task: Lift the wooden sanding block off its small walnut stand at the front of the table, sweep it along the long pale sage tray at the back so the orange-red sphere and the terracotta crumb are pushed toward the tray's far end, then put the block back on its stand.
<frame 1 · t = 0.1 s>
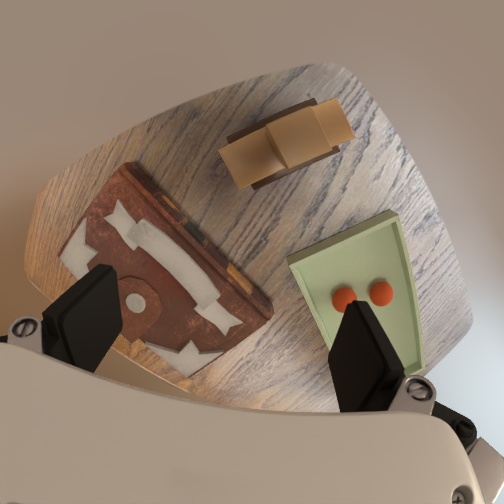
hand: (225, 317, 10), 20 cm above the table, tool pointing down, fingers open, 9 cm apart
tray: (370, 320, 33), on the table
stand: (280, 144, 26), on the table
crumb b: (381, 294, 29), point 2 cm above the table, touching tray
orange-red sphere: (344, 300, 30), point 2 cm above the table, touching tray
wooden sanding block: (284, 142, 21), point 6 cm above the table, touching stand
book: (162, 273, 32), on the table
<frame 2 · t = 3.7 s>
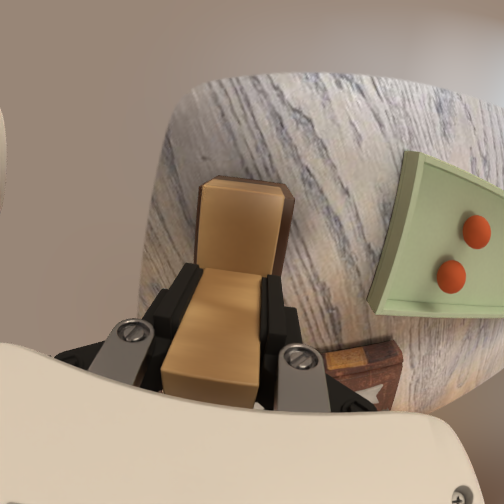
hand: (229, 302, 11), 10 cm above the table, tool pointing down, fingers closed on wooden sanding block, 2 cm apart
tray: (486, 252, 20), on the table
stand: (244, 231, 21), on the table
crumb b: (476, 232, 17), point 2 cm above the table, touching tray
orange-red sphere: (451, 277, 19), point 2 cm above the table, touching tray
wooden sanding block: (237, 263, 15), point 6 cm above the table, touching gripper, stand
book: (286, 398, 28), on the table
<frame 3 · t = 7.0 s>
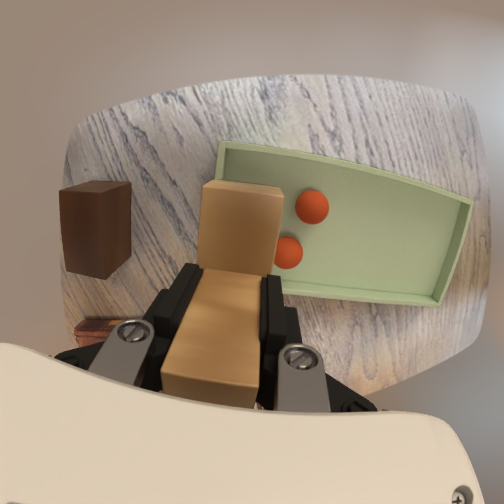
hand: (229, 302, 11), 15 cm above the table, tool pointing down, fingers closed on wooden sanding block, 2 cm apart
tray: (352, 230, 26), on the table
stand: (111, 218, 26), on the table
crumb b: (312, 207, 23), point 2 cm above the table, touching tray
orange-red sphere: (286, 252, 25), point 2 cm above the table, touching tray
wooden sanding block: (237, 263, 15), point 11 cm above the table, touching gripper
book: (173, 361, 33), on the table
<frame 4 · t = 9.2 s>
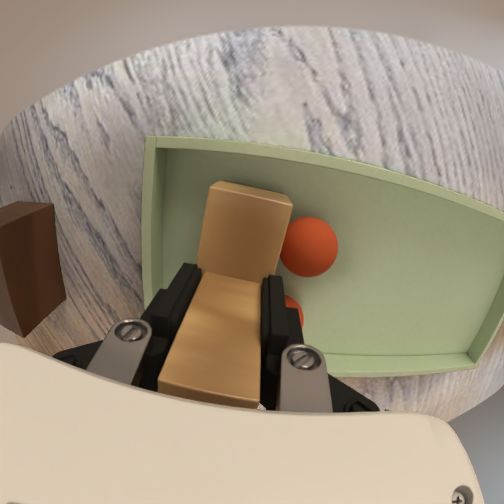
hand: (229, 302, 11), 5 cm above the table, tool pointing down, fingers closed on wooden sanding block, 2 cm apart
tray: (372, 276, 16), on the table
stand: (39, 250, 17), on the table
crumb b: (308, 247, 13), point 2 cm above the table, touching tray
orange-red sphere: (277, 320, 15), point 2 cm above the table, tilted 19°, touching wooden sanding block, tray
wooden sanding block: (235, 268, 15), point 1 cm above the table, touching orange-red sphere, gripper
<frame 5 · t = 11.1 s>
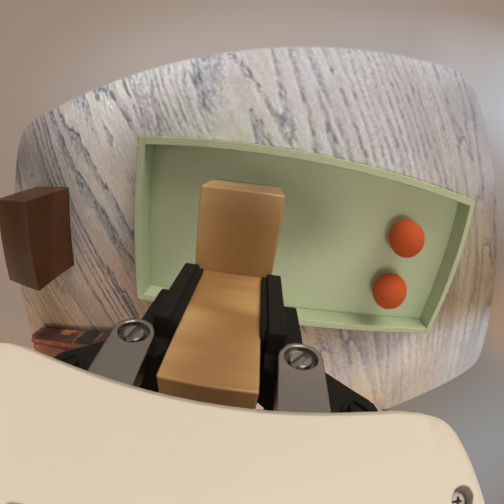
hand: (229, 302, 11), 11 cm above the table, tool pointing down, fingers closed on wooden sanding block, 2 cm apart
tray: (311, 239, 21), on the table
stand: (54, 225, 22), on the table
crumb b: (406, 238, 19), point 2 cm above the table, tilted 107°, touching tray
orange-red sphere: (389, 291, 20), point 2 cm above the table, tilted 128°, touching tray
wooden sanding block: (237, 265, 15), point 7 cm above the table, touching gripper
book: (127, 375, 29), on the table
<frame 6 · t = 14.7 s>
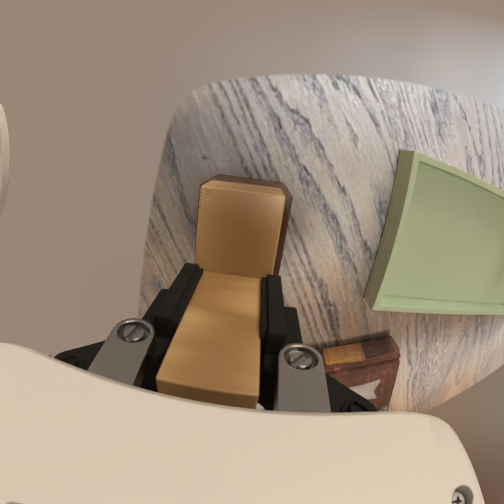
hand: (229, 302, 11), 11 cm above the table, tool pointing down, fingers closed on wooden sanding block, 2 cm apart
tray: (481, 249, 21), on the table
stand: (244, 229, 21), on the table
wooden sanding block: (237, 266, 15), point 7 cm above the table, touching gripper
book: (285, 394, 28), on the table
when the fingers open (10 cm above the table, at t = 15.2 s): wooden sanding block stays where it is, resting on stand.
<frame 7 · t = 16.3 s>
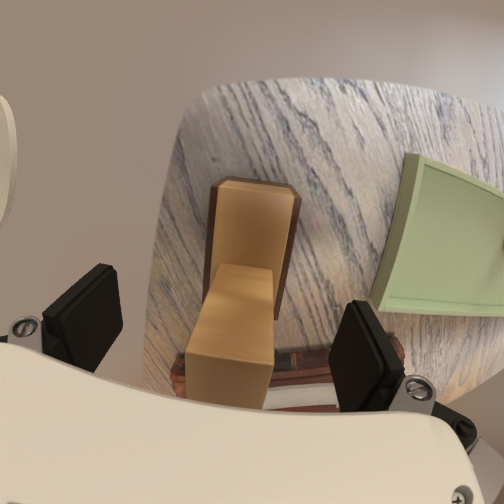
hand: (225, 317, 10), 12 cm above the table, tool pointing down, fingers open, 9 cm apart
tray: (485, 252, 21), on the table
stand: (252, 230, 22), on the table
wooden sanding block: (248, 260, 16), point 6 cm above the table, touching stand
book: (290, 395, 29), on the table
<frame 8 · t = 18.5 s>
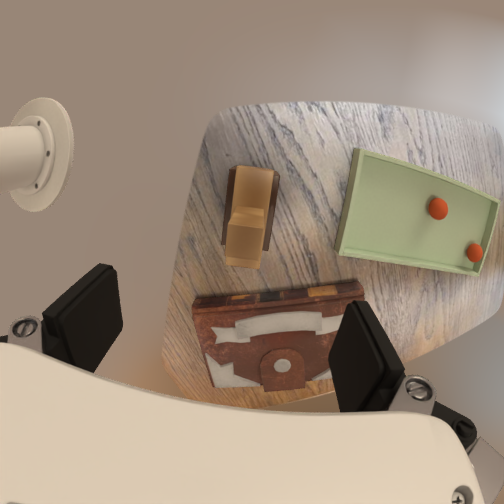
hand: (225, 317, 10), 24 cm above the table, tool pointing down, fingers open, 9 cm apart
tray: (428, 218, 32), on the table
stand: (251, 200, 33), on the table
crumb b: (438, 208, 30), point 2 cm above the table, tilted 171°, touching tray
orange-red sphere: (474, 252, 32), point 2 cm above the table, tilted 105°, touching tray
wooden sanding block: (250, 211, 27), point 6 cm above the table, touching stand
book: (281, 332, 40), on the table
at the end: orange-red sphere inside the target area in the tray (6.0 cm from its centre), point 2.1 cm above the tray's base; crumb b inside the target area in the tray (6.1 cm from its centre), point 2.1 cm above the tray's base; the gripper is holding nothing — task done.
